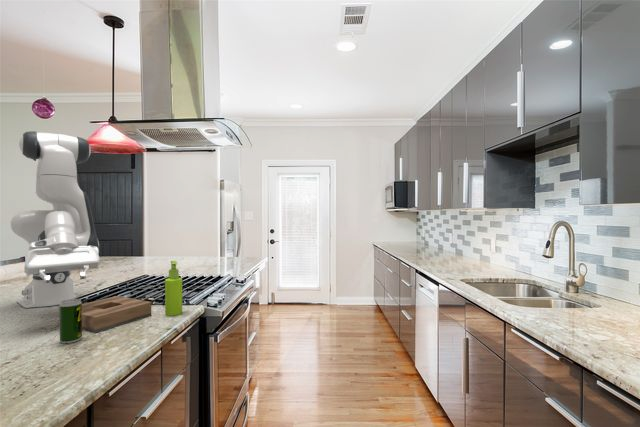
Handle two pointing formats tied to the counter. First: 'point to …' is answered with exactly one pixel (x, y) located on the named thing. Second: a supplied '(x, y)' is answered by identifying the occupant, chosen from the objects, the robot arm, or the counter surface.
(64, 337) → the beer can
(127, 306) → the socket board
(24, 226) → the robot arm
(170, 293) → the soap dispenser
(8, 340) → the counter surface
